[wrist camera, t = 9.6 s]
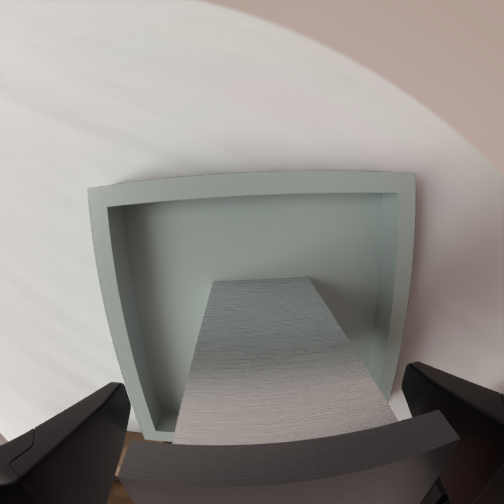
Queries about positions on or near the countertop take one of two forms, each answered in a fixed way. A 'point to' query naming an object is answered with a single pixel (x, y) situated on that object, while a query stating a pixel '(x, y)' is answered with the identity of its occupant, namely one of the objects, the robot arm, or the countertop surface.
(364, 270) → the tray
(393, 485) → the grey boxy piece
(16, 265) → the countertop surface
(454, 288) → the countertop surface
